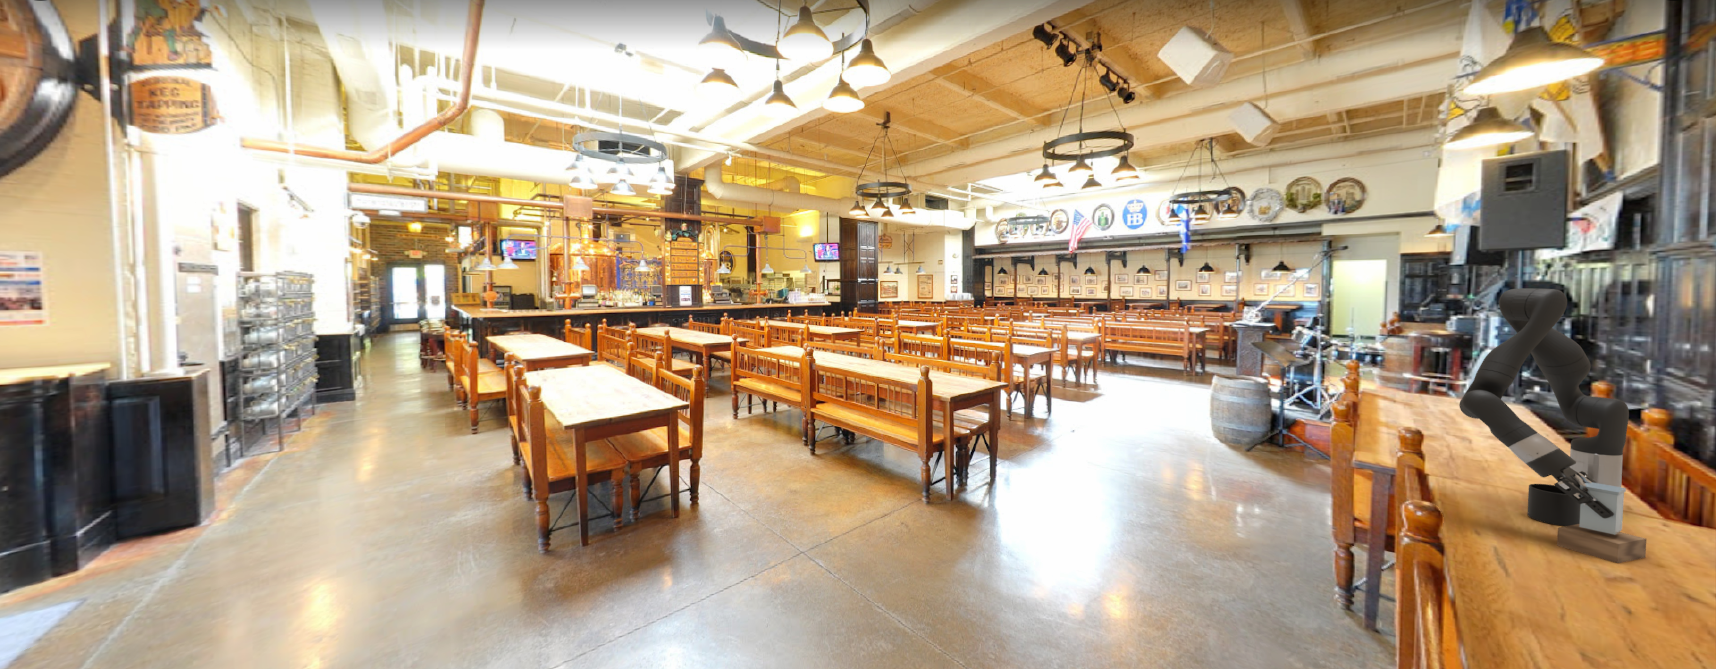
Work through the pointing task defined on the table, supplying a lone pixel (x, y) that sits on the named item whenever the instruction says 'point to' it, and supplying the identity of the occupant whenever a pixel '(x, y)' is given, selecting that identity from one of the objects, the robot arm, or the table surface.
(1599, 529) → the grey lidded pillar
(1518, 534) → the table surface
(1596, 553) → the walnut block
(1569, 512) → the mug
